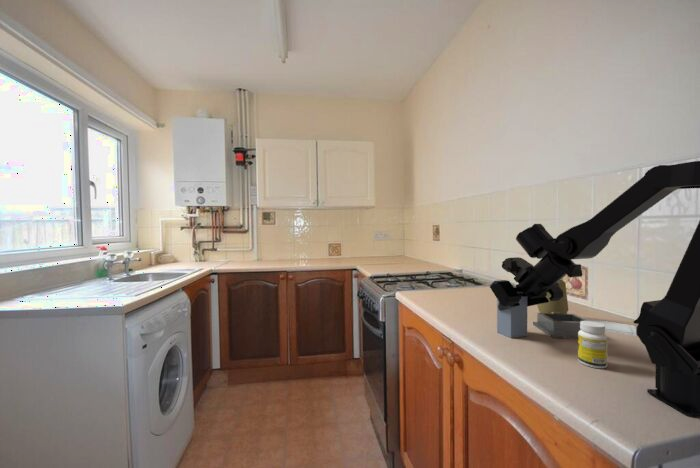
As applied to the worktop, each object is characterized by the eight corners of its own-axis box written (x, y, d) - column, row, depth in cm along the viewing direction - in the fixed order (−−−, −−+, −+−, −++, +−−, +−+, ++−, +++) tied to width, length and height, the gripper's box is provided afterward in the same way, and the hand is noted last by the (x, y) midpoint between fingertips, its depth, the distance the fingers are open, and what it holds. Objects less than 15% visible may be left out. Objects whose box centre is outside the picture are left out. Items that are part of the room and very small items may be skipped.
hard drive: (577, 323, 84) (638, 332, 76) (578, 316, 90) (634, 324, 82) (578, 329, 84) (638, 338, 76) (578, 322, 90) (634, 330, 82)
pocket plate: (599, 339, 74) (599, 323, 74) (552, 337, 75) (552, 321, 75) (574, 326, 84) (574, 311, 84) (533, 324, 86) (533, 310, 86)
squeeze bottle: (531, 317, 93) (531, 260, 93) (547, 313, 96) (547, 259, 96) (558, 324, 86) (558, 263, 85) (574, 320, 89) (574, 261, 89)
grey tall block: (527, 335, 77) (527, 285, 77) (510, 338, 75) (511, 286, 75) (512, 330, 81) (513, 282, 81) (497, 332, 79) (497, 283, 79)
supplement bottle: (583, 356, 64) (584, 318, 64) (611, 365, 60) (611, 324, 60) (573, 362, 61) (573, 322, 61) (601, 371, 57) (601, 328, 57)
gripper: (552, 246, 77) (516, 281, 88) (495, 248, 71) (464, 285, 82) (584, 281, 70) (540, 315, 80) (523, 286, 64) (485, 321, 74)
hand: (507, 308), depth 79 cm, fingers closed on grey tall block, 5 cm apart
